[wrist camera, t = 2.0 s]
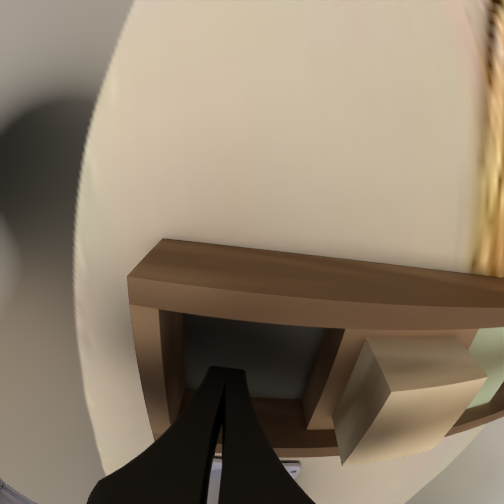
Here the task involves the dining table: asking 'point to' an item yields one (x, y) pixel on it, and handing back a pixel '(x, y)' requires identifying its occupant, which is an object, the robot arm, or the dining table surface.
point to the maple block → (404, 397)
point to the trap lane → (297, 331)
